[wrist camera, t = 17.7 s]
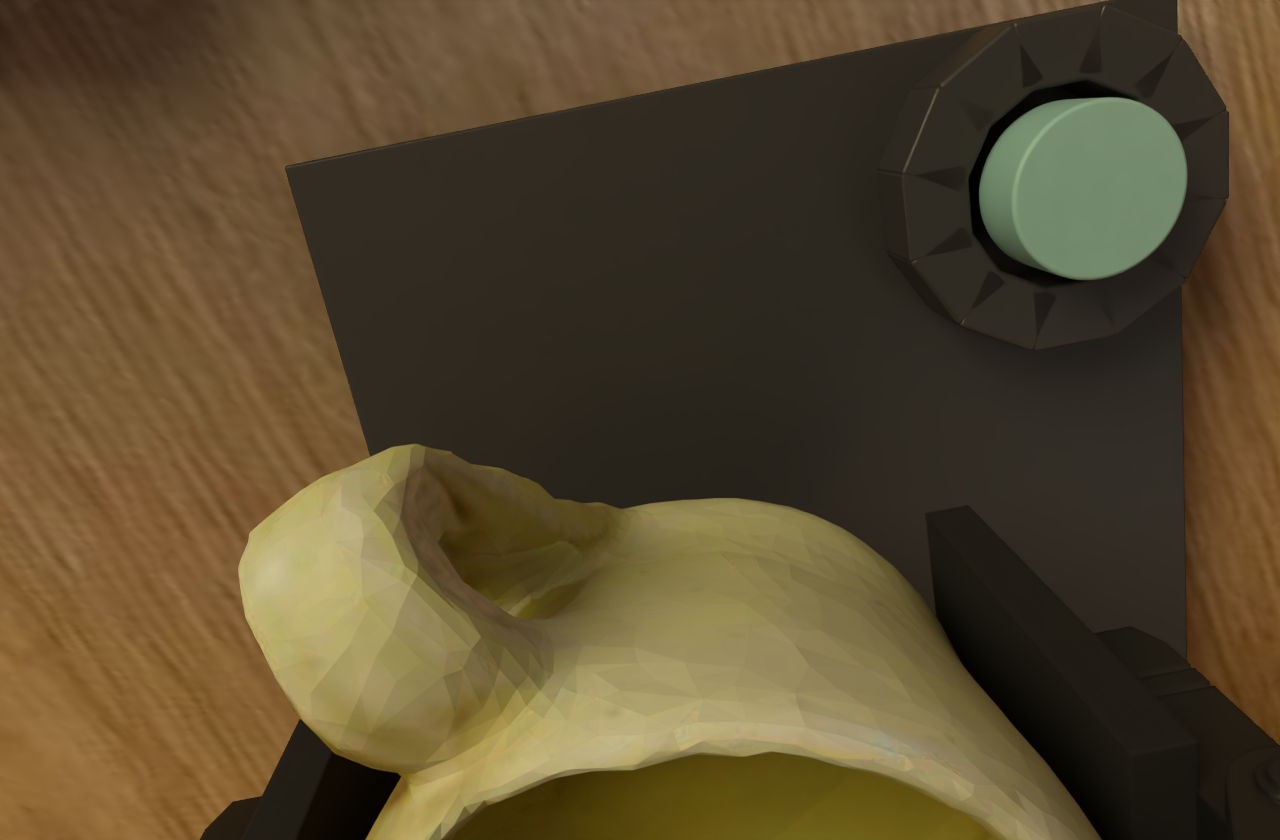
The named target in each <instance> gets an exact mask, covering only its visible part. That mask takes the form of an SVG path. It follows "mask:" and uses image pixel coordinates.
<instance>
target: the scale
mask: <svg viewBox="0 0 1280 840" xmlns="http://www.w3.org/2000/svg"><path fill="white" fill-rule="evenodd" d="M1105 97H1119V98H1125V99H1131V100H1134V101H1137V102H1140V103H1143V104H1145V105H1147V106H1149V107H1151V108H1152V109H1154V110H1155V111H1156V112H1158V113H1159V114H1160V115H1161V116H1162V117H1164V118H1165V119H1166V120H1167V121H1168V123H1169V124H1170V125H1171V127H1172V128H1173V129H1174V130H1175V132H1176V134H1177V136H1178V137H1179V139H1180V141H1181V144H1182V147H1183V149H1184V152H1185V157H1186V162H1187V172H1188V178H1187V189H1186V195H1185V200H1184V203H1183V206H1182V210H1181V212H1180V214H1179V216H1178V219H1177V221H1176V223H1175V225H1174V226H1173V228H1172V230H1171V231H1170V233H1169V234H1168V236H1167V237H1166V238H1165V240H1164V241H1163V242H1162V243H1161V244H1160V245H1159V247H1158V248H1157V249H1156V250H1155V251H1154V252H1153V253H1151V254H1150V255H1149V256H1148V257H1147V258H1146V259H1144V260H1143V261H1141V262H1140V263H1138V264H1137V265H1135V266H1134V267H1132V268H1130V269H1128V270H1126V271H1124V272H1122V273H1119V274H1117V275H1114V276H1111V277H1107V278H1103V279H1096V280H1075V279H1068V278H1065V277H1061V276H1058V275H1055V274H1052V273H1049V272H1046V271H1043V270H1040V269H1037V268H1034V267H1031V266H1028V265H1025V264H1023V263H1020V262H1018V261H1016V260H1014V259H1013V258H1011V257H1009V256H1008V255H1007V254H1005V253H1004V252H1003V251H1002V250H1001V249H1000V248H999V247H998V246H997V245H996V244H995V242H994V241H993V240H992V238H991V237H990V235H989V233H988V232H987V229H986V227H985V225H984V223H983V219H982V216H981V211H980V204H979V187H980V179H981V175H982V171H983V167H984V165H985V162H986V159H987V157H988V155H989V153H990V151H991V149H992V147H993V146H994V144H995V143H996V141H997V140H998V138H999V137H1000V136H1001V135H1002V133H1003V132H1004V131H1005V130H1006V129H1007V128H1008V127H1009V126H1010V125H1011V124H1012V123H1013V122H1014V121H1015V120H1017V119H1018V118H1019V117H1021V116H1022V115H1023V114H1025V113H1027V112H1028V111H1030V110H1032V109H1034V108H1036V107H1038V106H1041V105H1043V104H1046V103H1049V102H1053V101H1058V100H1065V99H1084V98H1105ZM285 170H286V174H287V177H288V181H289V184H290V187H291V191H292V194H293V197H294V201H295V204H296V208H297V211H298V214H299V218H300V221H301V224H302V228H303V231H304V235H305V238H306V241H307V245H308V248H309V251H310V255H311V258H312V261H313V265H314V268H315V272H316V275H317V278H318V282H319V285H320V288H321V292H322V295H323V299H324V302H325V305H326V309H327V312H328V315H329V319H330V322H331V325H332V329H333V332H334V336H335V339H336V342H337V346H338V349H339V352H340V356H341V359H342V363H343V366H344V369H345V373H346V376H347V379H348V383H349V386H350V390H351V393H352V396H353V400H354V403H355V406H356V410H357V413H358V416H359V420H360V423H361V427H362V430H363V433H364V437H365V440H366V443H367V447H368V450H369V454H370V457H371V456H373V455H376V454H378V453H380V452H382V451H384V450H387V449H389V448H391V447H396V446H403V445H411V444H419V445H422V446H426V447H429V448H433V449H439V450H445V451H450V452H452V454H454V455H456V456H457V457H459V458H461V459H463V460H465V461H466V462H468V463H470V464H474V465H482V466H489V467H496V468H502V469H504V470H507V471H509V472H511V473H514V474H516V475H518V476H520V477H523V478H528V479H530V480H532V481H534V482H536V483H538V484H539V485H540V486H541V487H543V488H544V489H545V490H546V491H547V492H548V493H549V494H550V495H551V496H552V497H553V498H554V499H563V500H572V501H575V502H579V503H596V502H598V503H604V504H607V505H610V506H613V507H616V508H619V509H626V508H631V507H635V506H640V505H645V504H650V503H659V502H669V501H679V500H698V499H712V498H739V499H747V500H754V501H761V502H767V503H772V504H777V505H783V506H788V507H792V508H795V509H798V510H801V511H803V512H806V513H809V514H812V515H815V516H817V517H819V518H822V519H824V520H826V521H828V522H830V523H832V524H835V525H837V526H839V527H841V528H843V529H845V530H846V531H848V532H849V533H851V534H852V535H854V536H855V537H857V538H858V539H860V540H861V541H863V542H864V543H865V544H867V545H868V546H869V547H870V548H872V549H873V550H874V551H875V552H877V553H878V554H879V555H880V556H882V557H883V558H884V559H885V560H887V561H888V562H889V563H890V564H892V565H893V566H894V567H895V568H896V569H897V570H898V571H899V572H900V573H901V574H902V575H903V577H904V578H905V579H906V580H907V581H908V582H909V583H910V584H911V585H912V586H913V587H914V588H915V589H916V591H917V592H918V593H919V594H920V595H921V596H922V597H923V599H924V600H925V601H926V603H927V604H928V606H929V607H930V609H931V610H932V612H933V613H934V615H935V616H936V611H935V601H934V592H933V583H932V573H931V564H930V554H929V545H928V536H927V526H926V517H925V513H929V512H934V511H939V510H944V509H949V508H954V507H959V506H965V505H969V506H970V507H971V508H972V509H973V510H974V511H975V512H976V513H977V514H978V515H979V516H980V517H981V518H982V519H983V520H984V521H985V522H986V523H987V524H988V525H989V527H990V528H991V529H992V530H993V531H994V532H995V533H996V534H997V535H998V536H999V537H1000V538H1001V539H1002V540H1003V541H1004V542H1005V543H1006V544H1007V545H1008V546H1009V547H1010V548H1011V549H1012V550H1013V551H1014V552H1015V553H1016V554H1017V555H1018V556H1019V557H1020V558H1021V559H1022V560H1023V561H1024V562H1025V563H1026V564H1027V565H1028V566H1029V567H1030V568H1031V569H1032V570H1033V572H1034V573H1035V574H1036V575H1037V576H1038V577H1039V578H1040V579H1041V580H1042V581H1043V582H1044V583H1045V584H1046V585H1047V586H1048V587H1049V588H1050V589H1051V590H1052V591H1053V592H1054V593H1055V594H1056V595H1057V596H1058V597H1059V598H1060V599H1061V600H1062V601H1063V602H1064V603H1065V604H1066V605H1067V606H1068V607H1069V608H1070V609H1071V610H1072V611H1073V612H1074V613H1075V614H1076V616H1077V617H1078V618H1079V619H1080V620H1081V621H1082V622H1083V623H1084V624H1085V625H1086V626H1087V627H1088V628H1089V629H1090V630H1091V631H1092V632H1093V633H1098V632H1103V631H1108V630H1113V629H1118V628H1124V627H1129V626H1132V627H1134V628H1136V629H1139V630H1141V631H1143V632H1145V633H1147V634H1149V635H1152V636H1154V637H1156V638H1158V639H1160V640H1162V641H1165V642H1166V643H1167V644H1169V645H1170V646H1171V647H1172V648H1173V649H1174V650H1175V651H1176V652H1177V653H1178V654H1180V655H1181V656H1182V657H1183V658H1184V659H1185V660H1186V661H1187V635H1186V567H1185V500H1184V432H1183V364H1182V296H1181V285H1182V284H1184V283H1185V282H1186V280H1185V279H1186V278H1187V277H1188V276H1189V274H1190V272H1191V271H1192V269H1193V267H1194V265H1195V263H1196V261H1197V259H1198V257H1199V255H1200V253H1201V251H1202V249H1203V247H1204V245H1205V243H1206V241H1207V239H1208V237H1209V235H1210V233H1211V231H1212V229H1213V228H1214V226H1215V224H1216V222H1217V220H1218V218H1219V216H1220V214H1221V212H1222V210H1223V208H1224V206H1225V204H1226V200H1225V199H1227V198H1228V196H1229V113H1228V111H1227V110H1226V106H1225V104H1224V102H1223V101H1222V99H1221V97H1220V96H1219V94H1218V93H1217V91H1216V89H1215V88H1214V86H1213V85H1212V83H1211V81H1210V80H1209V78H1208V77H1207V75H1206V73H1205V72H1204V70H1203V69H1202V67H1201V65H1200V64H1199V62H1198V60H1197V59H1196V57H1195V56H1194V54H1193V52H1192V51H1191V49H1190V48H1189V46H1188V44H1187V43H1186V41H1185V40H1183V39H1182V37H1181V36H1180V35H1179V34H1178V25H1177V0H1109V1H1104V2H1099V3H1094V4H1089V5H1084V6H1079V7H1074V8H1069V9H1064V10H1059V11H1054V12H1049V13H1044V14H1039V15H1034V16H1029V17H1024V18H1019V19H1014V20H1009V21H1004V22H999V23H994V24H989V25H984V26H979V27H974V28H969V29H964V30H959V31H954V32H950V33H945V34H940V35H935V36H930V37H925V38H920V39H915V40H910V41H905V42H900V43H895V44H890V45H885V46H880V47H875V48H870V49H865V50H860V51H855V52H850V53H845V54H840V55H835V56H830V57H825V58H820V59H815V60H810V61H805V62H800V63H795V64H790V65H785V66H780V67H775V68H770V69H765V70H760V71H755V72H751V73H746V74H741V75H736V76H731V77H726V78H721V79H716V80H711V81H706V82H701V83H696V84H691V85H686V86H681V87H676V88H671V89H666V90H661V91H656V92H651V93H646V94H641V95H636V96H631V97H626V98H621V99H616V100H611V101H606V102H601V103H596V104H591V105H586V106H581V107H576V108H571V109H566V110H561V111H556V112H552V113H547V114H542V115H537V116H532V117H527V118H522V119H517V120H512V121H507V122H502V123H497V124H492V125H487V126H482V127H477V128H472V129H467V130H462V131H457V132H452V133H447V134H442V135H437V136H432V137H427V138H422V139H417V140H412V141H407V142H402V143H397V144H392V145H387V146H382V147H377V148H372V149H367V150H362V151H357V152H353V153H348V154H343V155H338V156H333V157H328V158H323V159H318V160H313V161H308V162H303V163H298V164H293V165H288V166H286V167H285Z"/></svg>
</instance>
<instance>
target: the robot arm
mask: <svg viewBox="0 0 1280 840" xmlns="http://www.w3.org/2000/svg"><path fill="white" fill-rule="evenodd" d="M925 517H926V526H927V536H928V545H929V554H930V564H931V573H932V583H933V592H934V601H935V611H936V617H937V619H938V620H939V622H940V623H941V625H942V627H943V629H944V631H945V632H946V634H947V636H948V638H949V640H950V642H951V644H952V646H953V648H954V649H955V651H956V653H957V655H958V657H959V659H960V661H961V663H962V665H963V666H964V667H965V668H966V670H967V671H968V672H969V674H970V675H971V676H972V677H973V679H974V680H975V681H976V682H977V683H978V684H979V686H980V687H981V688H982V689H983V690H984V691H985V692H986V694H987V695H988V696H989V697H990V698H991V699H992V700H993V702H994V703H995V704H996V705H997V706H998V707H999V708H1000V709H1001V711H1002V712H1003V713H1004V715H1005V716H1006V717H1007V718H1008V720H1009V721H1010V722H1011V723H1012V725H1013V726H1014V727H1015V728H1016V729H1017V730H1018V731H1019V732H1020V734H1021V735H1022V736H1023V737H1024V738H1025V739H1026V740H1027V741H1028V743H1029V744H1030V745H1031V746H1032V747H1033V748H1034V749H1035V750H1036V752H1037V753H1038V754H1039V755H1040V756H1041V757H1042V758H1043V759H1044V760H1045V762H1046V763H1047V764H1048V765H1049V767H1050V768H1051V769H1052V771H1053V772H1054V773H1055V775H1056V776H1057V777H1058V779H1059V780H1060V781H1061V783H1062V784H1063V785H1064V787H1065V788H1066V789H1067V791H1068V792H1069V793H1070V794H1071V796H1072V797H1073V798H1074V800H1075V801H1076V802H1077V804H1078V805H1079V807H1080V808H1081V810H1082V811H1083V813H1084V814H1085V815H1086V817H1087V818H1088V820H1089V821H1090V823H1091V824H1092V826H1093V827H1094V829H1095V830H1096V832H1097V833H1098V835H1099V836H1100V838H1101V839H1102V840H1280V745H1278V744H1277V743H1276V742H1275V741H1274V740H1273V739H1272V738H1271V737H1270V736H1269V735H1267V734H1266V733H1265V732H1264V731H1263V730H1262V729H1261V728H1260V727H1259V726H1258V725H1256V724H1255V723H1254V722H1253V721H1252V720H1251V719H1250V718H1249V717H1248V716H1247V715H1245V714H1244V713H1243V712H1242V711H1241V710H1240V709H1239V708H1238V707H1237V706H1236V705H1234V704H1233V703H1232V702H1231V701H1230V700H1229V699H1228V698H1227V697H1226V696H1225V695H1223V694H1222V693H1221V692H1220V691H1219V690H1218V689H1217V688H1216V687H1215V686H1212V687H1211V686H1210V683H1209V681H1208V680H1207V679H1206V678H1205V677H1204V676H1203V675H1202V674H1200V673H1199V672H1198V671H1197V670H1196V669H1195V668H1191V667H1190V664H1189V663H1188V662H1187V661H1186V660H1185V659H1184V658H1183V657H1182V656H1181V655H1180V654H1178V653H1177V652H1176V651H1175V650H1174V649H1173V648H1172V647H1171V646H1170V645H1169V644H1167V643H1166V642H1165V641H1162V640H1160V639H1158V638H1156V637H1154V636H1152V635H1149V634H1147V633H1145V632H1143V631H1141V630H1139V629H1136V628H1134V627H1132V626H1129V627H1124V628H1118V629H1113V630H1108V631H1103V632H1098V633H1093V632H1092V631H1091V630H1090V629H1089V628H1088V627H1087V626H1086V625H1085V624H1084V623H1083V622H1082V621H1081V620H1080V619H1079V618H1078V617H1077V616H1076V614H1075V613H1074V612H1073V611H1072V610H1071V609H1070V608H1069V607H1068V606H1067V605H1066V604H1065V603H1064V602H1063V601H1062V600H1061V599H1060V598H1059V597H1058V596H1057V595H1056V594H1055V593H1054V592H1053V591H1052V590H1051V589H1050V588H1049V587H1048V586H1047V585H1046V584H1045V583H1044V582H1043V581H1042V580H1041V579H1040V578H1039V577H1038V576H1037V575H1036V574H1035V573H1034V572H1033V570H1032V569H1031V568H1030V567H1029V566H1028V565H1027V564H1026V563H1025V562H1024V561H1023V560H1022V559H1021V558H1020V557H1019V556H1018V555H1017V554H1016V553H1015V552H1014V551H1013V550H1012V549H1011V548H1010V547H1009V546H1008V545H1007V544H1006V543H1005V542H1004V541H1003V540H1002V539H1001V538H1000V537H999V536H998V535H997V534H996V533H995V532H994V531H993V530H992V529H991V528H990V527H989V525H988V524H987V523H986V522H985V521H984V520H983V519H982V518H981V517H980V516H979V515H978V514H977V513H976V512H975V511H974V510H973V509H972V508H971V507H970V506H969V505H965V506H959V507H954V508H949V509H944V510H939V511H934V512H929V513H925ZM400 778H401V776H400V775H399V774H398V773H395V772H388V771H382V770H377V769H373V768H370V767H367V766H365V765H362V764H360V763H357V762H355V761H352V760H350V759H347V758H344V757H342V756H339V755H337V754H335V753H334V752H333V751H332V750H331V749H330V748H329V747H328V746H327V745H326V744H325V743H324V742H323V741H322V740H321V739H320V738H319V737H318V736H317V735H316V734H315V733H314V732H313V731H312V730H311V729H310V728H309V727H308V726H307V725H306V724H305V723H304V722H303V721H302V720H301V719H300V720H299V722H298V724H297V726H296V728H295V730H294V732H293V734H292V736H291V738H290V740H289V742H288V744H287V746H286V748H285V750H284V752H283V755H282V757H281V759H280V761H279V763H278V765H277V767H276V769H275V771H274V773H273V775H272V777H271V779H270V781H269V783H268V785H267V787H266V789H265V791H264V793H263V795H262V796H260V797H255V798H250V799H245V800H240V801H234V802H232V803H231V804H230V805H229V806H228V807H227V808H226V809H225V810H224V811H223V812H222V813H221V814H220V815H219V816H218V817H217V818H216V819H215V820H214V821H213V822H212V823H211V824H210V825H209V826H208V827H207V828H206V829H205V831H204V833H203V835H202V837H201V838H200V840H366V838H367V836H368V834H369V832H370V830H371V829H372V827H373V825H374V823H375V821H376V819H377V818H378V816H379V814H380V812H381V811H382V809H383V807H384V806H385V804H386V802H387V800H388V799H389V797H390V795H391V794H392V792H393V790H394V788H395V787H396V785H397V783H398V782H399V780H400Z"/></svg>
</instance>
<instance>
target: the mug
mask: <svg viewBox="0 0 1280 840" xmlns="http://www.w3.org/2000/svg"><path fill="white" fill-rule="evenodd" d="M238 573H239V581H240V588H241V594H242V600H243V606H244V612H245V618H246V620H247V622H248V624H249V626H250V628H251V630H252V632H253V634H254V636H255V638H256V639H257V641H258V643H259V645H260V647H261V649H262V651H263V653H264V655H265V658H266V660H267V662H268V664H269V666H270V668H271V670H272V672H273V674H274V676H275V679H276V681H277V683H278V684H279V686H280V688H281V689H282V691H283V693H284V694H285V696H286V698H287V699H288V701H289V703H290V705H291V706H292V708H293V710H294V711H295V713H296V715H297V716H298V717H299V718H300V719H301V720H302V721H303V722H304V723H305V724H306V725H307V726H308V727H309V728H310V729H311V730H312V731H313V732H314V733H315V734H316V735H317V736H318V737H319V738H320V739H321V740H322V741H323V742H324V743H325V744H326V745H327V746H328V747H329V748H330V749H331V750H332V751H333V752H334V753H335V754H337V755H339V756H342V757H344V758H347V759H350V760H352V761H355V762H357V763H360V764H362V765H365V766H367V767H370V768H373V769H377V770H382V771H388V772H395V773H398V774H399V775H400V776H401V778H400V780H399V782H398V783H397V785H396V787H395V788H394V790H393V792H392V794H391V795H390V797H389V799H388V800H387V802H386V804H385V806H384V807H383V809H382V811H381V812H380V814H379V816H378V818H377V819H376V821H375V823H374V825H373V827H372V829H371V830H370V832H369V834H368V836H367V838H366V840H1102V839H1101V838H1100V836H1099V835H1098V833H1097V832H1096V830H1095V829H1094V827H1093V826H1092V824H1091V823H1090V821H1089V820H1088V818H1087V817H1086V815H1085V814H1084V813H1083V811H1082V810H1081V808H1080V807H1079V805H1078V804H1077V802H1076V801H1075V800H1074V798H1073V797H1072V796H1071V794H1070V793H1069V792H1068V791H1067V789H1066V788H1065V787H1064V785H1063V784H1062V783H1061V781H1060V780H1059V779H1058V777H1057V776H1056V775H1055V773H1054V772H1053V771H1052V769H1051V768H1050V767H1049V765H1048V764H1047V763H1046V762H1045V760H1044V759H1043V758H1042V757H1041V756H1040V755H1039V754H1038V753H1037V752H1036V750H1035V749H1034V748H1033V747H1032V746H1031V745H1030V744H1029V743H1028V741H1027V740H1026V739H1025V738H1024V737H1023V736H1022V735H1021V734H1020V732H1019V731H1018V730H1017V729H1016V728H1015V727H1014V726H1013V725H1012V723H1011V722H1010V721H1009V720H1008V718H1007V717H1006V716H1005V715H1004V713H1003V712H1002V711H1001V709H1000V708H999V707H998V706H997V705H996V704H995V703H994V702H993V700H992V699H991V698H990V697H989V696H988V695H987V694H986V692H985V691H984V690H983V689H982V688H981V687H980V686H979V684H978V683H977V682H976V681H975V680H974V679H973V677H972V676H971V675H970V674H969V672H968V671H967V670H966V668H965V667H964V666H963V665H962V663H961V661H960V659H959V657H958V655H957V653H956V651H955V649H954V648H953V646H952V644H951V642H950V640H949V638H948V636H947V634H946V632H945V631H944V629H943V627H942V625H941V623H940V622H939V620H938V619H937V617H936V616H935V615H934V613H933V612H932V610H931V609H930V607H929V606H928V604H927V603H926V601H925V600H924V599H923V597H922V596H921V595H920V594H919V593H918V592H917V591H916V589H915V588H914V587H913V586H912V585H911V584H910V583H909V582H908V581H907V580H906V579H905V578H904V577H903V575H902V574H901V573H900V572H899V571H898V570H897V569H896V568H895V567H894V566H893V565H892V564H890V563H889V562H888V561H887V560H885V559H884V558H883V557H882V556H880V555H879V554H878V553H877V552H875V551H874V550H873V549H872V548H870V547H869V546H868V545H867V544H865V543H864V542H863V541H861V540H860V539H858V538H857V537H855V536H854V535H852V534H851V533H849V532H848V531H846V530H845V529H843V528H841V527H839V526H837V525H835V524H832V523H830V522H828V521H826V520H824V519H822V518H819V517H817V516H815V515H812V514H809V513H806V512H803V511H801V510H798V509H795V508H792V507H788V506H783V505H777V504H772V503H767V502H761V501H754V500H747V499H739V498H712V499H698V500H679V501H669V502H659V503H650V504H645V505H640V506H635V507H631V508H626V509H619V508H616V507H613V506H610V505H607V504H604V503H598V502H596V503H579V502H575V501H572V500H563V499H554V498H553V497H552V496H551V495H550V494H549V493H548V492H547V491H546V490H545V489H544V488H543V487H541V486H540V485H539V484H538V483H536V482H534V481H532V480H530V479H528V478H523V477H520V476H518V475H516V474H514V473H511V472H509V471H507V470H504V469H502V468H496V467H489V466H482V465H474V464H470V463H468V462H466V461H465V460H463V459H461V458H459V457H457V456H456V455H454V454H452V452H450V451H445V450H439V449H433V448H429V447H426V446H422V445H419V444H411V445H403V446H396V447H391V448H389V449H387V450H384V451H382V452H380V453H378V454H376V455H373V456H371V457H369V458H367V459H365V460H363V461H360V462H358V463H356V464H354V465H352V466H349V467H347V468H344V469H341V470H339V471H336V472H333V473H331V474H328V475H326V476H324V477H322V478H320V479H319V480H317V481H315V482H314V483H312V484H311V485H309V486H307V487H306V488H304V489H302V490H301V491H300V492H298V493H297V494H296V495H295V496H293V497H292V498H291V499H289V500H288V501H287V502H286V503H284V504H283V505H282V506H281V507H279V508H278V509H277V510H276V511H274V512H273V513H272V514H271V515H270V516H268V517H267V518H266V519H265V520H264V521H263V522H262V523H260V524H259V525H258V526H257V527H256V528H255V529H254V530H252V531H251V532H250V533H249V540H248V544H247V546H246V548H245V551H244V553H243V555H242V558H241V560H240V564H239V567H238Z"/></svg>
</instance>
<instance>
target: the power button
mask: <svg viewBox="0 0 1280 840" xmlns="http://www.w3.org/2000/svg"><path fill="white" fill-rule="evenodd" d="M1187 178H1188V172H1187V162H1186V157H1185V152H1184V149H1183V147H1182V144H1181V141H1180V139H1179V137H1178V136H1177V134H1176V132H1175V130H1174V129H1173V128H1172V127H1171V125H1170V124H1169V123H1168V121H1167V120H1166V119H1165V118H1164V117H1162V116H1161V115H1160V114H1159V113H1158V112H1156V111H1155V110H1154V109H1152V108H1151V107H1149V106H1147V105H1145V104H1143V103H1140V102H1137V101H1134V100H1131V99H1125V98H1119V97H1105V98H1084V99H1065V100H1058V101H1053V102H1049V103H1046V104H1043V105H1041V106H1038V107H1036V108H1034V109H1032V110H1030V111H1028V112H1027V113H1025V114H1023V115H1022V116H1021V117H1019V118H1018V119H1017V120H1015V121H1014V122H1013V123H1012V124H1011V125H1010V126H1009V127H1008V128H1007V129H1006V130H1005V131H1004V132H1003V133H1002V135H1001V136H1000V137H999V138H998V140H997V141H996V143H995V144H994V146H993V147H992V149H991V151H990V153H989V155H988V157H987V159H986V162H985V165H984V167H983V171H982V175H981V179H980V187H979V204H980V211H981V216H982V219H983V223H984V225H985V227H986V229H987V232H988V233H989V235H990V237H991V238H992V240H993V241H994V242H995V244H996V245H997V246H998V247H999V248H1000V249H1001V250H1002V251H1003V252H1004V253H1005V254H1007V255H1008V256H1009V257H1011V258H1013V259H1014V260H1016V261H1018V262H1020V263H1023V264H1025V265H1028V266H1031V267H1034V268H1037V269H1040V270H1043V271H1046V272H1049V273H1052V274H1055V275H1058V276H1061V277H1065V278H1068V279H1075V280H1096V279H1103V278H1107V277H1111V276H1114V275H1117V274H1119V273H1122V272H1124V271H1126V270H1128V269H1130V268H1132V267H1134V266H1135V265H1137V264H1138V263H1140V262H1141V261H1143V260H1144V259H1146V258H1147V257H1148V256H1149V255H1150V254H1151V253H1153V252H1154V251H1155V250H1156V249H1157V248H1158V247H1159V245H1160V244H1161V243H1162V242H1163V241H1164V240H1165V238H1166V237H1167V236H1168V234H1169V233H1170V231H1171V230H1172V228H1173V226H1174V225H1175V223H1176V221H1177V219H1178V216H1179V214H1180V212H1181V210H1182V206H1183V203H1184V200H1185V195H1186V189H1187Z"/></svg>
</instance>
